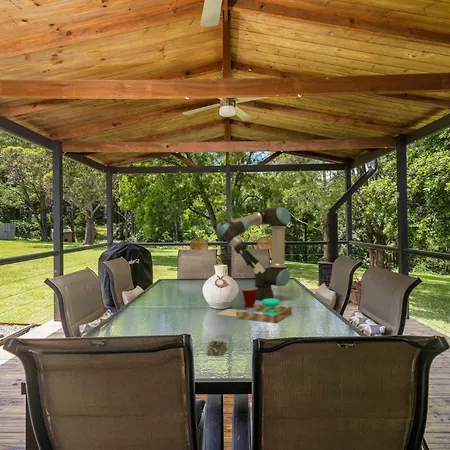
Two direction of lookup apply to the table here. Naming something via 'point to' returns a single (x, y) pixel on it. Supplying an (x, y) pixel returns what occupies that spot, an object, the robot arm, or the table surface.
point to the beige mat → (230, 312)
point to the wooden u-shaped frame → (269, 318)
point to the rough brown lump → (217, 348)
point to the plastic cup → (249, 296)
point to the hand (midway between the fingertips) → (261, 272)
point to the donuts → (270, 305)
